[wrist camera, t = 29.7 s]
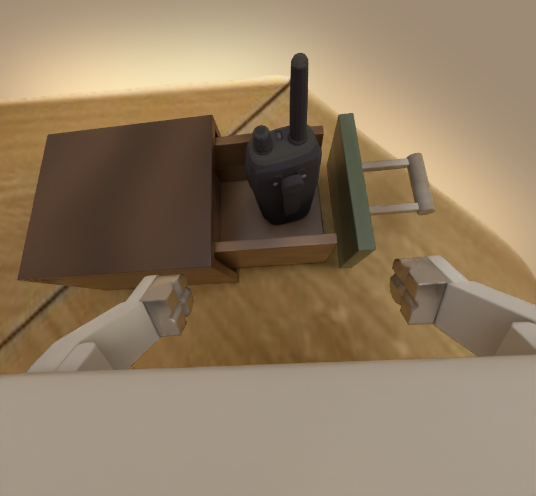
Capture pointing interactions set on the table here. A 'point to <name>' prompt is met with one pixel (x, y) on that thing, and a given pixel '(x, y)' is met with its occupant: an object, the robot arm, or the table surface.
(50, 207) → the cabinet
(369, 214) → the drawer
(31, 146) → the table surface
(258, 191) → the two-way radio
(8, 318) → the table surface
